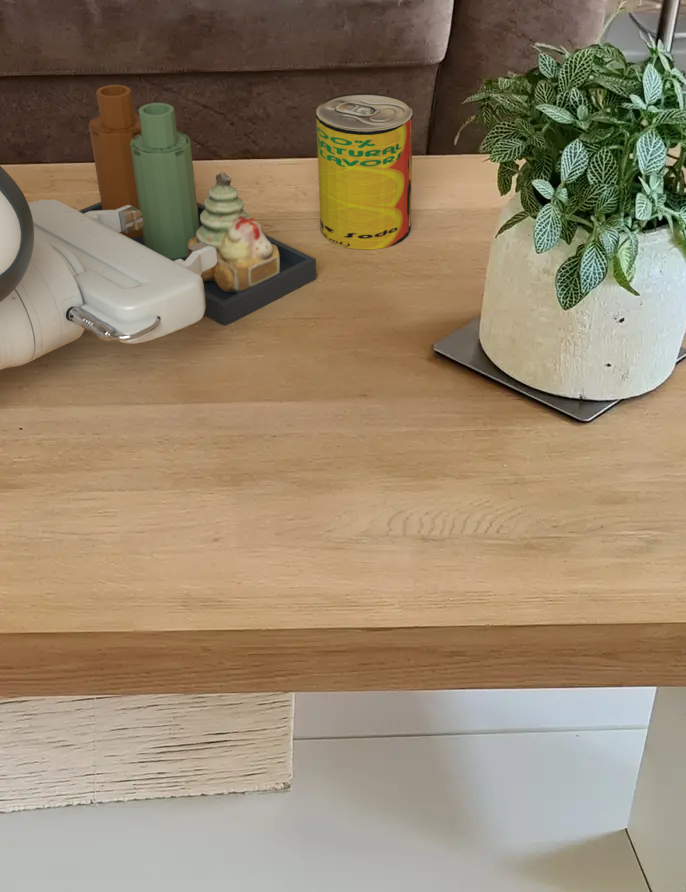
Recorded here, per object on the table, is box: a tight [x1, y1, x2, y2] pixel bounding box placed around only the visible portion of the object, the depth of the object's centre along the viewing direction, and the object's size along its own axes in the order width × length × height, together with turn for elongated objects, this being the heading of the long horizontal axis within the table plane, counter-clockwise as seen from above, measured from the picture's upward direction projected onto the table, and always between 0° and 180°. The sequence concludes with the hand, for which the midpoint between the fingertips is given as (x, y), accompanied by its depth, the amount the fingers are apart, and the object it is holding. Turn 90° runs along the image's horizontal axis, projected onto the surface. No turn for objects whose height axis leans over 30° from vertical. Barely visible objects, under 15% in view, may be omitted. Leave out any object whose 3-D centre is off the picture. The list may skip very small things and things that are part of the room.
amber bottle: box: [88, 84, 143, 237], centre depth 110 cm, size 5×5×14 cm
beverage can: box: [315, 92, 414, 250], centre depth 112 cm, size 9×9×12 cm
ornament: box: [188, 171, 280, 294], centre depth 103 cm, size 8×6×10 cm
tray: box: [78, 201, 317, 327], centre depth 110 cm, size 23×11×2 cm, turn 50°
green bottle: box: [130, 102, 200, 259], centre depth 107 cm, size 5×5×14 cm
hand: (173, 233), depth 98 cm, fingers open, 8 cm apart
